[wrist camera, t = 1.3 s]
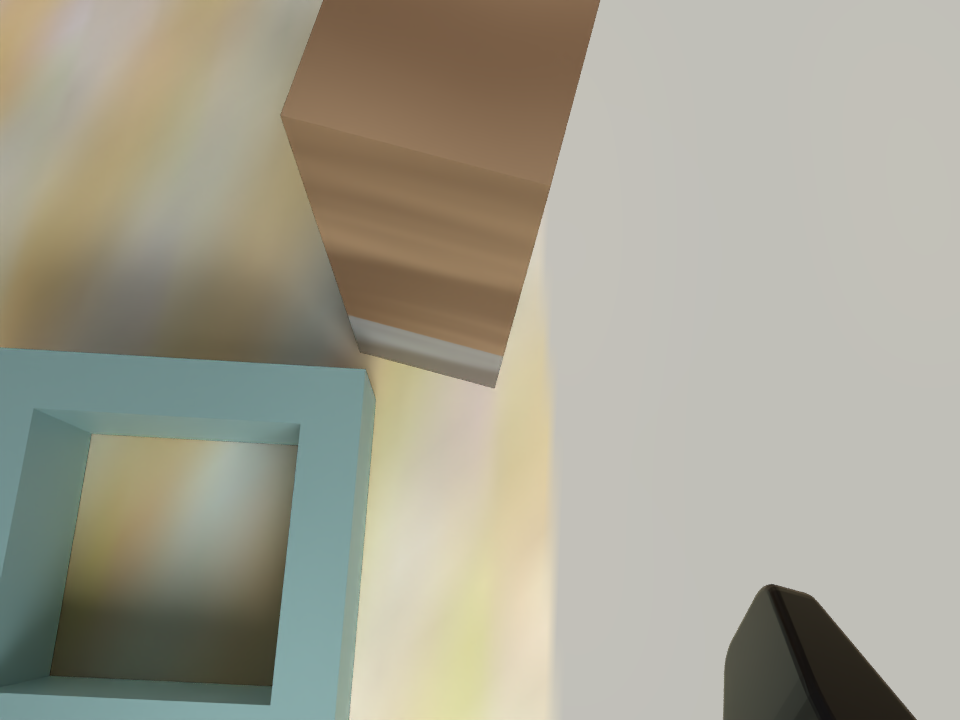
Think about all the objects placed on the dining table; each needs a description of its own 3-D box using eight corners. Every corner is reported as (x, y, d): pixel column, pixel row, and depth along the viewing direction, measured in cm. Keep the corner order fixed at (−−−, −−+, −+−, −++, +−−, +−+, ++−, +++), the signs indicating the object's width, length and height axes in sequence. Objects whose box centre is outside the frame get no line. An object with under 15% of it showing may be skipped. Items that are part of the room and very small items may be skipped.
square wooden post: (494, 388, 21) (549, 186, 10) (360, 352, 21) (280, 115, 11) (528, 262, 22) (610, -41, 11) (399, 228, 22) (361, -105, 11)
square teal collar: (346, 749, 19) (329, 779, 16) (-19, 733, 18) (-104, 760, 16) (375, 399, 21) (365, 369, 18) (48, 380, 21) (-16, 346, 18)
